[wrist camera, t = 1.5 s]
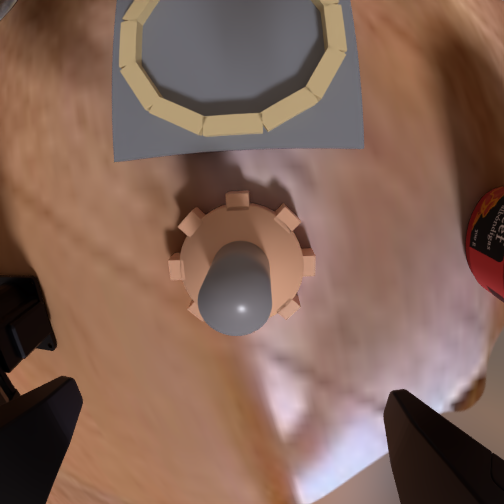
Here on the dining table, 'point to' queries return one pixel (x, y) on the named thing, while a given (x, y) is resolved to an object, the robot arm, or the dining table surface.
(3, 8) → the pot
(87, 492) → the dining table surface
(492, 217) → the canned food
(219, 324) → the planet gear
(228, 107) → the carrier plate
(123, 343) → the dining table surface
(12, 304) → the robot arm
